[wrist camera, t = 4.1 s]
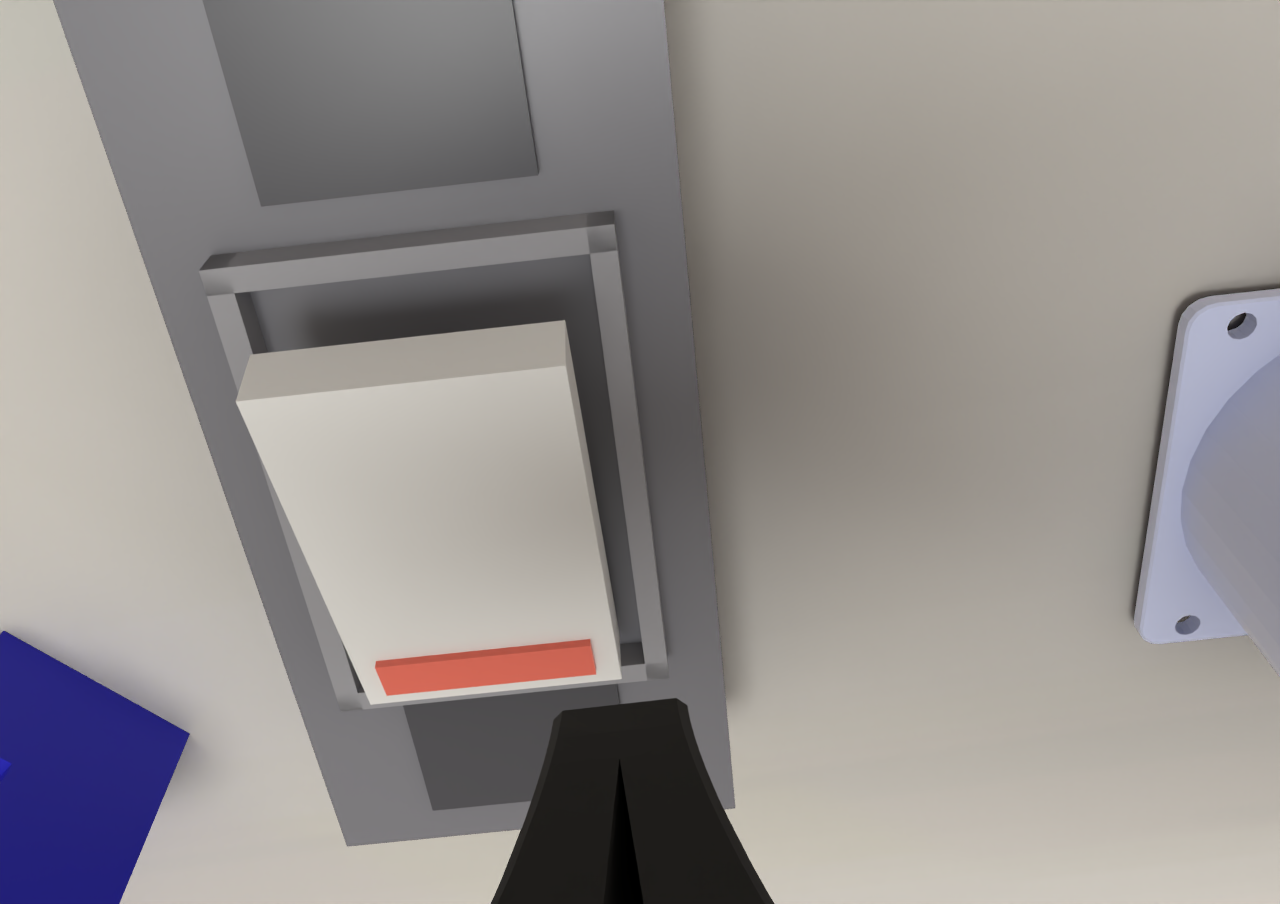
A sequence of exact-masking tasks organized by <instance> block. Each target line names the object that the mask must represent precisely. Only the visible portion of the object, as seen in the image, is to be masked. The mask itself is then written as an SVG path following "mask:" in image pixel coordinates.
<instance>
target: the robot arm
mask: <svg viewBox="0 0 1280 904" xmlns="http://www.w3.org/2000/svg"><path fill="white" fill-rule="evenodd" d="M1242 313H1246V317H1245V320H1244V322H1243V323H1242V324H1241V325H1240V326H1238V327H1237V328H1235V329H1232V330H1227V327H1228V325H1229V323H1230V321H1231V320H1232V319H1233V318H1234V317H1235V316H1236V315H1239V314H1242ZM1189 615H1190V617H1189V618H1188V619H1186V620H1185V621H1183V622H1179V623H1177V621H1179V620H1180V619H1181V618H1182V617H1185V616H1189ZM1134 625H1135V628H1136V629H1137V631H1138V632H1139V634H1140V635H1141V637H1142V638H1143V639H1144V640H1145V641H1147V642H1149V643H1151V644H1165V643H1175V642H1185V641H1194V640H1204V639H1214V638H1224V637H1234V636H1244V635H1248V636H1249V637H1250V638H1251V640H1252V641H1253V642H1254V644H1255V645H1256V646H1257V648H1258V649H1259V650H1260V652H1261V653H1262V654H1263V656H1264V657H1265V658H1266V660H1267V661H1268V662H1269V664H1270V665H1271V666H1272V668H1273V669H1274V670H1275V672H1276V673H1277V674H1278V676H1279V677H1280V289H1271V290H1261V291H1252V292H1243V293H1234V294H1225V295H1215V296H1208V297H1205V298H1201V299H1198V300H1197V301H1195V302H1194V303H1192V304H1191V305H1189V306H1188V307H1187V309H1186V310H1185V311H1184V312H1183V314H1182V315H1181V318H1180V321H1179V323H1178V329H1177V336H1176V343H1175V349H1174V356H1173V362H1172V369H1171V376H1170V382H1169V389H1168V396H1167V402H1166V409H1165V416H1164V422H1163V429H1162V436H1161V442H1160V449H1159V456H1158V462H1157V469H1156V476H1155V482H1154V489H1153V495H1152V502H1151V509H1150V515H1149V522H1148V529H1147V535H1146V542H1145V549H1144V555H1143V562H1142V569H1141V575H1140V582H1139V589H1138V595H1137V602H1136V609H1135V615H1134ZM491 904H774V902H773V901H772V899H771V897H770V896H769V894H768V892H767V891H766V889H765V887H764V885H763V883H762V882H761V880H760V878H759V876H758V875H757V873H756V871H755V869H754V867H753V866H752V864H751V862H750V860H749V858H748V856H747V854H746V852H745V850H744V848H743V846H742V844H741V842H740V840H739V838H738V837H737V835H736V833H735V831H734V829H733V827H732V825H731V823H730V821H729V819H728V817H727V815H726V813H725V811H724V808H723V806H722V804H721V802H720V800H719V798H718V796H717V793H716V791H715V788H714V786H713V784H712V781H711V779H710V777H709V774H708V772H707V770H706V767H705V764H704V762H703V759H702V756H701V754H700V751H699V748H698V745H697V742H696V739H695V736H694V732H693V729H692V725H691V721H690V717H689V712H688V706H687V705H686V704H685V703H683V702H682V701H680V700H679V699H677V698H671V699H662V700H653V701H644V702H635V703H626V704H617V705H608V706H599V707H591V708H582V709H573V710H564V711H562V712H561V713H560V714H559V715H558V716H557V717H556V718H555V719H554V720H553V725H552V730H551V735H550V740H549V744H548V748H547V751H546V755H545V759H544V763H543V766H542V770H541V773H540V776H539V779H538V783H537V786H536V789H535V792H534V795H533V798H532V800H531V803H530V806H529V809H528V812H527V815H526V818H525V821H524V823H523V826H522V828H521V831H520V834H519V836H518V839H517V841H516V844H515V846H514V849H513V852H512V854H511V857H510V859H509V862H508V864H507V867H506V869H505V872H504V875H503V877H502V879H501V882H500V884H499V886H498V889H497V891H496V893H495V896H494V898H493V900H492V902H491Z"/></svg>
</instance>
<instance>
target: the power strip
mask: <svg viewBox="0 0 1280 904" xmlns="http://www.w3.org/2000/svg"><path fill="white" fill-rule="evenodd" d="M53 2H54V5H55V7H56V10H57V13H58V16H59V19H60V22H61V25H62V28H63V30H64V33H65V36H66V39H67V42H68V45H69V48H70V51H71V53H72V56H73V59H74V62H75V65H76V68H77V71H78V74H79V76H80V79H81V82H82V85H83V88H84V91H85V94H86V97H87V99H88V102H89V105H90V108H91V111H92V114H93V117H94V120H95V122H96V125H97V128H98V131H99V134H100V137H101V140H102V143H103V145H104V148H105V151H106V154H107V157H108V160H109V163H110V166H111V168H112V171H113V174H114V177H115V180H116V183H117V186H118V189H119V192H120V194H121V197H122V200H123V203H124V206H125V209H126V212H127V215H128V217H129V220H130V223H131V226H132V229H133V232H134V235H135V238H136V240H137V243H138V246H139V249H140V252H141V255H142V258H143V261H144V263H145V266H146V269H147V272H148V275H149V278H150V281H151V284H152V286H153V289H154V292H155V295H156V298H157V301H158V304H159V307H160V309H161V312H162V315H163V318H164V321H165V324H166V327H167V330H168V332H169V335H170V338H171V341H172V344H173V347H174V350H175V353H176V355H177V358H178V361H179V364H180V367H181V370H182V373H183V376H184V379H185V381H186V384H187V387H188V390H189V393H190V396H191V399H192V402H193V404H194V407H195V410H196V413H197V416H198V419H199V422H200V425H201V427H202V430H203V433H204V436H205V439H206V442H207V445H208V448H209V450H210V453H211V456H212V459H213V462H214V465H215V468H216V471H217V473H218V476H219V479H220V482H221V485H222V488H223V491H224V494H225V496H226V499H227V502H228V505H229V508H230V511H231V514H232V517H233V519H234V522H235V525H236V528H237V531H238V534H239V537H240V540H241V542H242V545H243V548H244V551H245V554H246V557H247V560H248V563H249V565H250V568H251V571H252V574H253V577H254V580H255V583H256V586H257V589H258V591H259V594H260V597H261V600H262V603H263V606H264V609H265V612H266V614H267V617H268V620H269V623H270V626H271V629H272V632H273V635H274V637H275V640H276V643H277V646H278V649H279V652H280V655H281V658H282V660H283V663H284V666H285V669H286V672H287V675H288V678H289V681H290V683H291V686H292V689H293V692H294V695H295V698H296V701H297V704H298V706H299V709H300V712H301V715H302V718H303V721H304V724H305V727H306V729H307V732H308V735H309V738H310V741H311V744H312V747H313V750H314V752H315V755H316V758H317V761H318V764H319V767H320V770H321V773H322V776H323V778H324V781H325V784H326V787H327V790H328V793H329V796H330V799H331V801H332V804H333V807H334V810H335V813H336V816H337V819H338V822H339V824H340V827H341V830H342V833H343V836H344V839H345V842H346V845H347V846H357V845H367V844H377V843H387V842H397V841H407V840H418V839H428V838H438V837H448V836H458V835H468V834H478V833H489V832H499V831H509V830H519V829H521V828H522V826H523V823H524V821H525V818H526V815H527V812H528V809H529V806H530V803H531V800H532V798H533V795H534V792H535V789H536V786H537V783H538V779H539V776H540V773H541V770H542V766H543V763H544V759H545V755H546V751H547V748H548V744H549V740H550V735H551V730H552V725H553V720H554V719H555V718H556V717H557V716H558V715H559V714H560V713H561V712H562V711H564V710H573V709H582V708H591V707H599V706H608V705H617V704H626V703H635V702H644V701H653V700H662V699H671V698H677V699H679V700H680V701H682V702H683V703H685V704H686V705H687V706H688V712H689V717H690V721H691V725H692V729H693V732H694V736H695V739H696V742H697V745H698V748H699V751H700V754H701V756H702V759H703V762H704V764H705V767H706V770H707V772H708V774H709V777H710V779H711V781H712V784H713V786H714V788H715V791H716V793H717V796H718V798H719V800H720V802H721V804H722V806H723V808H724V809H732V808H735V799H734V788H733V777H732V766H731V754H730V743H729V732H728V720H727V709H726V698H725V686H724V675H723V664H722V653H721V641H720V630H719V619H718V607H717V596H716V585H715V574H714V562H713V551H712V540H711V528H710V517H709V506H708V494H707V483H706V472H705V461H704V449H703V438H702V427H701V415H700V404H699V393H698V382H697V370H696V359H695V348H694V336H693V325H692V314H691V302H690V291H689V280H688V269H687V257H686V246H685V235H684V223H683V212H682V201H681V190H680V178H679V167H678V156H677V144H676V133H675V122H674V110H673V99H672V88H671V77H670V65H669V54H668V43H667V31H666V20H665V9H664V0H53ZM562 320H565V322H566V328H567V334H568V339H569V345H570V351H571V357H572V362H573V368H574V374H575V380H576V385H577V391H578V397H579V403H580V409H581V414H582V420H583V426H584V432H585V437H586V443H587V449H588V455H589V460H590V466H591V472H592V478H593V484H594V489H595V495H596V501H597V507H598V512H599V518H600V524H601V530H602V535H603V541H604V547H605V553H606V558H607V564H608V570H609V576H610V582H611V587H612V593H613V599H614V605H615V610H616V616H617V622H618V628H619V634H620V654H621V673H622V679H618V680H608V681H598V682H589V683H579V684H569V685H559V686H549V687H540V688H530V689H520V690H510V691H500V692H490V693H481V694H471V695H461V696H451V697H441V698H431V699H422V700H412V701H402V702H392V703H382V704H372V705H370V702H369V700H368V698H367V696H366V693H365V691H364V689H363V687H362V684H361V682H360V680H359V678H358V675H357V673H356V671H355V669H354V666H353V664H352V662H351V660H350V657H349V655H348V653H347V651H346V648H345V646H344V644H343V642H342V639H341V637H340V635H339V633H338V631H337V628H336V626H335V624H334V622H333V619H332V617H331V615H330V613H329V610H328V608H327V606H326V604H325V601H324V599H323V597H322V595H321V592H320V590H319V588H318V586H317V583H316V581H315V579H314V577H313V574H312V572H311V570H310V568H309V565H308V563H307V561H306V559H305V556H304V554H303V552H302V550H301V547H300V545H299V543H298V541H297V538H296V536H295V534H294V532H293V529H292V527H291V525H290V523H289V520H288V518H287V516H286V514H285V511H284V509H283V507H282V505H281V502H280V500H279V498H278V496H277V493H276V491H275V489H274V487H273V484H272V482H271V480H270V478H269V475H268V473H267V471H266V469H265V466H264V464H263V462H262V460H261V457H260V455H259V453H258V451H257V448H256V446H255V444H254V442H253V439H252V437H251V435H250V433H249V430H248V428H247V426H246V424H245V421H244V419H243V417H242V415H241V412H240V410H239V408H238V406H237V403H236V399H237V396H238V392H239V389H240V386H241V383H242V380H243V376H244V373H245V370H246V367H247V364H248V360H249V357H250V355H252V354H261V353H270V352H279V351H288V350H297V349H307V348H316V347H325V346H334V345H343V344H352V343H361V342H370V341H379V340H389V339H398V338H407V337H416V336H425V335H434V334H443V333H452V332H461V331H470V330H480V329H489V328H498V327H507V326H516V325H525V324H534V323H543V322H552V321H562Z"/></svg>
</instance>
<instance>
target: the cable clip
mask: <svg viewBox="0 0 1280 904" xmlns="http://www.w3.org/2000/svg"><path fill="white" fill-rule="evenodd" d="M188 737H189V733H187V732H186V731H184V730H182V729H180V728H178V727H177V726H175V725H173V724H171V723H169V722H168V721H166V720H164V719H162V718H160V717H159V716H157V715H155V714H153V713H151V712H150V711H148V710H146V709H144V708H142V707H141V706H139V705H137V704H135V703H133V702H132V701H130V700H128V699H126V698H124V697H123V696H121V695H119V694H117V693H115V692H114V691H112V690H110V689H108V688H106V687H105V686H103V685H101V684H99V683H97V682H96V681H94V680H92V679H90V678H88V677H87V676H85V675H83V674H81V673H79V672H78V671H76V670H74V669H72V668H70V667H69V666H67V665H65V664H63V663H61V662H60V661H58V660H56V659H54V658H52V657H50V656H49V655H47V654H45V653H43V652H41V651H40V650H38V649H36V648H34V647H32V646H31V645H29V644H27V643H25V642H23V641H22V640H20V639H18V638H16V637H14V636H13V635H11V634H9V633H7V632H5V631H3V632H2V633H1V634H0V904H119V903H120V901H121V898H122V896H123V893H124V891H125V888H126V886H127V884H128V881H129V879H130V876H131V874H132V872H133V869H134V867H135V864H136V862H137V860H138V857H139V855H140V852H141V850H142V848H143V845H144V843H145V840H146V838H147V836H148V833H149V831H150V828H151V826H152V823H153V821H154V819H155V816H156V814H157V811H158V809H159V807H160V804H161V802H162V799H163V797H164V795H165V792H166V790H167V787H168V785H169V783H170V780H171V778H172V775H173V773H174V770H175V768H176V766H177V763H178V761H179V758H180V756H181V754H182V751H183V749H184V746H185V744H186V742H187V739H188Z"/></svg>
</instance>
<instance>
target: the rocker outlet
mask: <svg viewBox="0 0 1280 904" xmlns="http://www.w3.org/2000/svg"><path fill="white" fill-rule="evenodd" d="M236 403H237V406H238V408H239V410H240V412H241V415H242V417H243V419H244V421H245V424H246V426H247V428H248V430H249V433H250V435H251V437H252V439H253V442H254V444H255V446H256V448H257V451H258V453H259V455H260V457H261V460H262V462H263V464H264V466H265V469H266V471H267V473H268V475H269V478H270V480H271V482H272V484H273V487H274V489H275V491H276V493H277V496H278V498H279V500H280V502H281V505H282V507H283V509H284V511H285V514H286V516H287V518H288V520H289V523H290V525H291V527H292V529H293V532H294V534H295V536H296V538H297V541H298V543H299V545H300V547H301V550H302V552H303V554H304V556H305V559H306V561H307V563H308V565H309V568H310V570H311V572H312V574H313V577H314V579H315V581H316V583H317V586H318V588H319V590H320V592H321V595H322V597H323V599H324V601H325V604H326V606H327V608H328V610H329V613H330V615H331V617H332V619H333V622H334V624H335V626H336V628H337V631H338V633H339V635H340V637H341V639H342V642H343V644H344V646H345V648H346V651H347V653H348V655H349V657H350V660H351V662H352V664H353V666H354V669H355V671H356V673H357V675H358V678H359V680H360V682H361V684H362V687H363V689H364V691H365V693H366V696H367V698H368V700H369V702H370V705H372V704H382V703H392V702H402V701H412V700H422V699H431V698H441V697H451V696H461V695H471V694H481V693H490V692H500V691H510V690H520V689H530V688H540V687H549V686H559V685H569V684H579V683H589V682H598V681H608V680H618V679H622V673H621V654H620V634H619V628H618V622H617V616H616V610H615V605H614V599H613V593H612V587H611V582H610V576H609V570H608V564H607V558H606V553H605V547H604V541H603V535H602V530H601V524H600V518H599V512H598V507H597V501H596V495H595V489H594V484H593V478H592V472H591V466H590V460H589V455H588V449H587V443H586V437H585V432H584V426H583V420H582V414H581V409H580V403H579V397H578V391H577V385H576V380H575V374H574V368H573V362H572V357H571V351H570V345H569V339H568V334H567V328H566V322H565V320H562V321H552V322H543V323H534V324H525V325H516V326H507V327H498V328H489V329H480V330H470V331H461V332H452V333H443V334H434V335H425V336H416V337H407V338H398V339H389V340H379V341H370V342H361V343H352V344H343V345H334V346H325V347H316V348H307V349H297V350H288V351H279V352H270V353H261V354H252V355H250V357H249V360H248V364H247V367H246V370H245V373H244V376H243V380H242V383H241V386H240V389H239V392H238V396H237V399H236Z"/></svg>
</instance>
